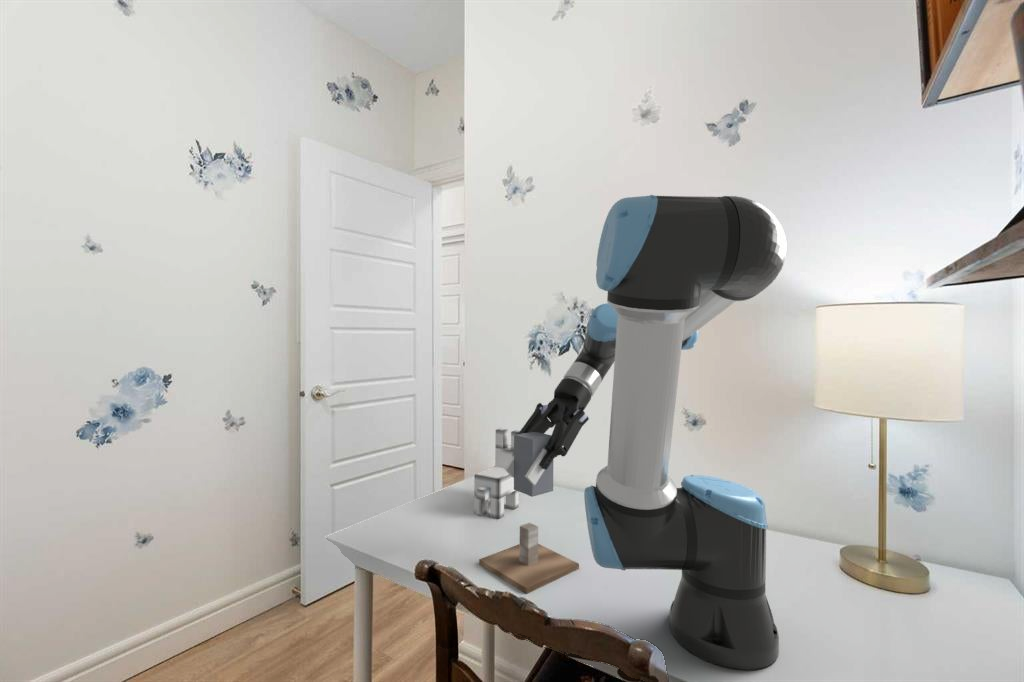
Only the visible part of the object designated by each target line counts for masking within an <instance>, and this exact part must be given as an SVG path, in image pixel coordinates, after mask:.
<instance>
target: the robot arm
mask: <svg viewBox="0 0 1024 682" xmlns="http://www.w3.org/2000/svg"><path fill="white" fill-rule="evenodd" d="M786 254H787V240H786V235H785V232H784V229H783V227H782V225H781V224H780V221H778V219H777V218H776V216H775V215H774V213H772V211H771V210H770V209H768V208H767V207H765V206H764V205H763V204H761V203H759V202H756V201H755V200H752V199H750V198H746V197H742V196H737V195H724V196H687V195H686V196H684V195H680V196H678V195H654V194H650V195H642V196H641V195H640V196H631V197H624V198H620V199H619V200H617V201H616V202H615V203H614V204H613V205H612V206H611V208H610V209H609V210H608V213H607V216H606V217H605V221H604V223H603V226H602V231H601V234H600V239H599V244H598V249H597V257H596V271H595V272H596V273H595V280H596V285H597V287H598V288H599V290H603V292H607V299H606V301H607V303H602V304H600V305H597V306H596V307H595V308H594V309H593V310H592V311H591V314H590V315H589V319H588V322H587V324H586V332H585V337H584V341H583V344H582V349H581V350H580V352H579V354H578V356H577V357H576V359H575V360H574V362H572V364H571V366H570V367H569V368H568V369H567V371H566V372H565V373H564V376H563V377H562V379H561V380H560V382H559V383H558V384H557V386H556V387H555V389H554V391H553V398H552V400H551V401H549V402H548V403H547V404H542V402H539V403H537V405H536V407H535V409H534V411H533V412H532V414H531V416H529V418H528V419H527V421H526V422H525V424H524V425H523V427H522V428H521V429H520V430H519V431H520V432H519V433H518V434H522V433H529V432H539V433H543V434H546V432H547V431H548V430H549V429H550V428H553V431H552V434H551V435H552V436H551V438H550V441H549V444H548V445H545V447H546V448H547V450H546V449H542V451H541V452H540V454H539V455H538V457H537V458H536V460H535V461H534V463H533V465H532V466H531V468H530V469H529V471H528V472H527V474H526V475H525V477H526V478H527V479H528V480H529V481H530V482H531V483H532V484H533V485H536V483H537V481H538V480H539V478H540V477H541V475H542V473H543V472H544V470H546V469H547V468H548V467H549V465H550V464H551V462H552V461H553V462H554V459H555V458H557V457H558V456H561V457H565V456H566V455H568V452H569V451H570V449H571V447H572V445H573V443H574V442H575V440H576V438H577V436H578V434H579V433H580V431H581V430H582V427H583V426H585V424H586V423H587V422H588V421H589V419H590V418H589V416H588V415H587V413H586V412H585V409H586V408H587V407H588V405H589V403H590V401H591V400H592V397H593V396H594V395H595V393H596V391H597V390H598V389H599V387H600V385H601V384H602V382H603V380H604V378H605V377H606V376H607V374H608V372H609V370H610V369H611V367H612V366H613V379H612V392H611V393H612V394H611V407H610V408H611V409H610V424H609V425H610V426H609V437H608V455H607V465H606V466H604V467H603V468H601V469H600V470H599V471H598V473H597V475H596V479H595V485H593V484H592V485H590V486H587V487H585V488H584V496H583V497H584V498H583V499H584V507H585V517H586V522H587V523H586V524H587V530H588V531H587V532H588V537H589V542H590V547H591V552H592V556H593V560H594V561H595V563H596V565H598V566H600V567H601V568H604V569H612V570H613V569H614V570H621V571H626V570H671V571H672V570H673V571H676V570H677V571H681V576H680V577H681V578H680V581H679V583H678V586H677V589H676V593H675V596H674V598H673V600H672V602H671V605H670V607H669V629H670V632H671V634H672V636H673V637H674V638H675V640H676V641H677V642H678V643H679V645H681V646H682V647H683V648H685V649H686V650H687V651H689V652H690V653H691V654H693V655H695V656H697V657H698V658H700V659H703V660H704V661H706V662H708V663H709V662H710V663H712V664H715V665H718V666H722V667H725V668H730V669H736V670H757V669H763V668H766V667H768V666H770V665H772V664H773V663H774V662H776V661H777V659H778V657H779V655H780V654H779V652H780V636H779V631H778V628H777V626H776V624H775V621H774V617H773V616H774V615H773V613H772V610H771V607H770V604H769V600H768V598H767V593H766V591H767V590H766V577H767V575H766V574H767V564H766V563H767V529H768V528H769V527H768V523H767V512H766V511H767V510H766V504H765V502H764V499H763V498H762V497H761V495H760V494H759V493H757V492H756V491H754V490H753V489H751V488H749V487H747V486H746V485H742V484H740V483H737V482H734V481H731V480H728V479H724V478H720V477H719V478H718V477H715V476H708V475H701V474H700V475H699V474H691V475H686V476H684V477H683V479H682V481H681V482H680V484H681V487H677V485H676V484H675V481H674V480H673V478H671V477H670V475H669V474H668V473H669V464H670V457H671V456H670V455H671V447H672V438H673V429H674V427H673V426H674V421H675V411H676V410H675V409H676V402H677V401H676V400H677V392H678V391H677V390H678V383H679V375H680V374H679V373H680V364H681V356H682V351H684V350H687V351H688V350H691V349H693V348H694V347H695V346H696V342H697V341H698V337H699V330H700V329H702V328H703V327H704V326H706V325H707V324H709V323H710V322H711V321H712V320H713V319H715V318H717V316H719V315H720V314H721V313H722V312H724V311H725V310H727V309H728V308H729V307H731V306H732V305H733V304H734V303H736V302H743V301H744V302H745V301H747V300H751V299H753V298H754V297H756V296H758V294H760V293H761V292H764V290H766V289H767V288H768V287H769V286H770V285H771V284H773V282H774V281H775V280H776V279H777V277H778V275H779V273H780V272H781V271H782V269H783V266H784V264H785V260H786V258H787V257H786V256H787V255H786ZM505 470H506V471H507V473H508V474H509V475H510V476H511V477H513V478H514V453H513V455H512V458H511V460H510V461H509V463H508V464H507V466H506V467H505Z"/></svg>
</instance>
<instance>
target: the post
mask: <svg viewBox="0 0 1024 682" xmlns="http://www.w3.org/2000/svg"><path fill="white" fill-rule="evenodd" d="M478 563H479V565H480V566H481V567H483V568H484V569H486V570H488V571H489V572H491V573H492V574H494V575H495V576H497V577H498V578H500V579H502V580H503V581H505V582H507V583H508V584H510V585H511V586H513V587H514V588H515V589H518V590H519V591H521V592H523V593H524V594H529V593H532V592H533V591H535V590H537V589H540V588H541V587H543V586H546V585H548V584H550V583H552V582H554V581H557V580H559V579H560V578H562V577H565V576H567V575H570V574H571V573H573V572H575V571H577V570H579V569H580V563H578V562H576V561H575V560H572V559H570V558H569V557H567V556H564V555H562V554H560V553H559V552H556V551H554V550H552V549H550V548H548V547H546V546H544V545H542V544H540V543H539V526H538V525H536V524H533V523H532V522H527V523H524V524H521V525H519V543H518V544H516V545H513V546H511V547H508V548H505V549H504V550H500V551H497V552H495V553H492V554H490V555H487V556H485V557H483V558H482V557H481V558H479V560H478Z"/></svg>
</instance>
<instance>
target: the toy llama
mask: <svg viewBox="0 0 1024 682" xmlns="http://www.w3.org/2000/svg"><path fill="white" fill-rule="evenodd" d="M519 432H520V430H516V429H515V430H511V432H510V444H509V430H508V428H501V427H500V428H497V429H495V443H494V444H495V451H494V452H495V459H494V460H495V466H492V467H490V468H487V469H485V470H482V471H480V472H477V473H475V474H474V480H473V483H474V486H473V487H474V488H473V489H474V494H473V495H474V496H473V498H474V501H473V503H474V504H473V505H474V506H473V511H474V512H473V514H475V513H476V515H479V514H480V516H484V515H486V514H488V510H489V509H490V511H489V513H490V516H489V517H490V518H491V517H492V518H491V519H495V518H496V519H495V520H500V519H502V518H503V517H504V516H505V509H507V510H508V509H509V510H513V511H515V510H516V509H518V508H519V500H520V498H519V496H520V492H519V491H516V490H514V478H513V477H511V476H510V475H509V474H508V473H507V471H506V470H505V467H506V466H507V464H508V463H509V461H510V460H511V458H512V455H513V453H514V435H516V434H518V433H519ZM488 499H489V501H488ZM488 502H489V505H490V508H489V509H488V507H489V505H488ZM483 514H484V515H483Z"/></svg>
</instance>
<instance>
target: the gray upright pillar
mask: <svg viewBox="0 0 1024 682" xmlns="http://www.w3.org/2000/svg"><path fill="white" fill-rule="evenodd" d="M551 436H552V434H547V433H544V434H543V433H539V432H529V433H522V434H516V435H514V490H516V491H519V493H522V494H524V495H527V496H530V497H532V498H533V497H537V496H539V495H544V494H548V493H551V492H554V460H553V461H552V462H551V464H550V465H549V467H548V468H547V469H546V470H544V472H543V473H542V475H541V477H540V478H539V480H538V481H537V483H536V485H533V484H532V483H531V482H530V481H529V480H528V479H527V478H526V477H525V475H526V474H527V472H528V471H529V469H530V468H531V466H532V465H533V463H534V461H535V460H536V458H537V457H538V455H539V454H540V452H541V451H542V449H546V450H547V448H546V447H545V445H548V444H549V441H550V438H551Z"/></svg>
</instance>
